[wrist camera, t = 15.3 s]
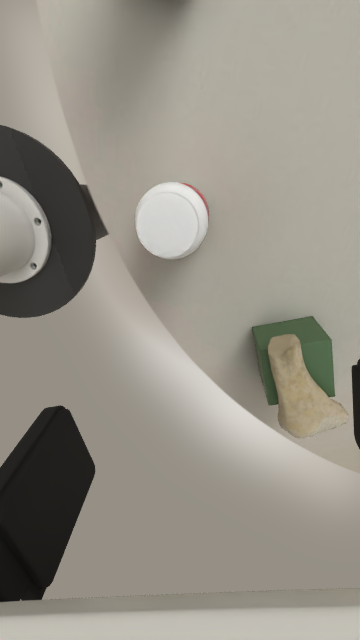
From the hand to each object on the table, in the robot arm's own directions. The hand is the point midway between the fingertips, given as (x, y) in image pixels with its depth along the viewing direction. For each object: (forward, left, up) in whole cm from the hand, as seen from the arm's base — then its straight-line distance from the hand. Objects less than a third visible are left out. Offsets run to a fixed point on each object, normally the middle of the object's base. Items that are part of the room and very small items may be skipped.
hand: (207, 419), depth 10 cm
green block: (+7, -13, -26) cm, 30 cm away
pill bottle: (-2, +5, -26) cm, 27 cm away
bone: (+7, -13, -20) cm, 25 cm away
